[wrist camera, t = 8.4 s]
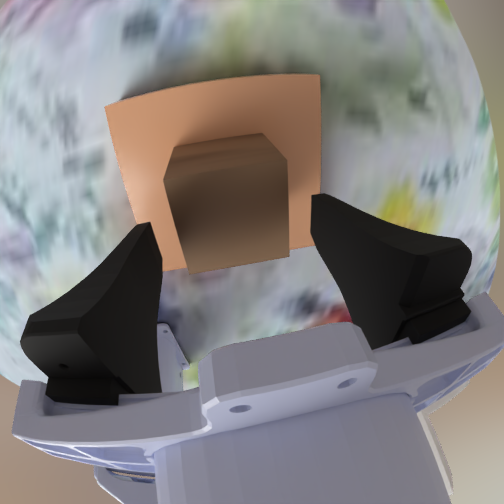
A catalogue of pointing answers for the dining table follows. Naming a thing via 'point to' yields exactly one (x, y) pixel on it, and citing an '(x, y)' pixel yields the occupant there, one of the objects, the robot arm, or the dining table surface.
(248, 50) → the dining table surface
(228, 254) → the walnut block
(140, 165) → the terracotta plinth
